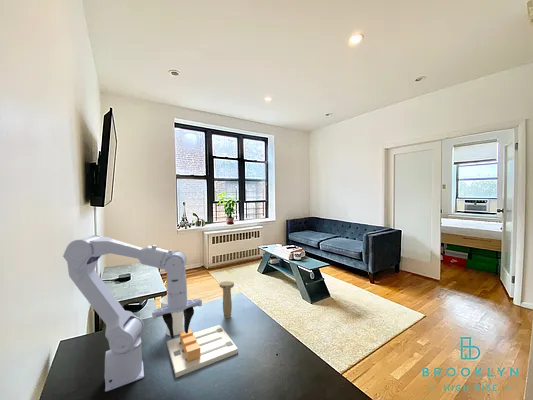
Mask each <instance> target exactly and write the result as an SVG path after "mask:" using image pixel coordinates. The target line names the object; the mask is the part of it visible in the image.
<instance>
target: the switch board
mask: <svg viewBox="0 0 533 400" xmlns="http://www.w3.org/2000/svg"><path fill="white" fill-rule="evenodd" d="M193 335H194V336H195V338H196V342H197V343H198V344H199V346H200V355H201V357H199V358H196V359H194V360H191V361H187V358H186V352H185V353H184V350H183V345H181V342H180V336H179V337H176V338H172V339H170V340H167V341H166V346H167V349H168V353H169V358H170V361H171V365H172V369H173V373H174V377H175V378H176V379H177V378H179V377H181V376H184V375H186V374H189V373H191V372H193V371H194V372H195V371H196V370H199V369H201V368H204V367H206V366H207V367H208V366H209V365H211V364H214V363H216V362H218V361H221V360H223V359H227V358H228V357H231V356H233V355H236V354H238V353H239V349H238V347H237V345H236V344H235V343H234V342H233V340H232V339H231V337H230V336H229V335H228V334H227V332H226V330H224V328H223V327H222V325H221V324H218V325H214V326H212V327H207V328H206V329H205V328H204V329H202V330H198V331H194V332H193Z"/></svg>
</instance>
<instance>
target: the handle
mask: <svg viewBox="0 0 533 400" xmlns="http://www.w3.org/2000/svg"><path fill="white" fill-rule="evenodd" d="M234 287H235V282H234V281H229V280H228V281H221V282H219V288H221V289H222V313H223V317H224V318H225V319H229V318H231V317H232V310H233V309H232V308H233V306H232V305H233V304H232V303H233V301H232V288H234Z"/></svg>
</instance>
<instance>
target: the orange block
mask: <svg viewBox="0 0 533 400" xmlns="http://www.w3.org/2000/svg"><path fill="white" fill-rule="evenodd" d="M185 352H186V358H187V361H191V360H194V359H196V358H199V357H201V355H200V346H199V344H198V343H195V344H192V345H189V346H186V347H185Z"/></svg>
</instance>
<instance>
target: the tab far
mask: <svg viewBox="0 0 533 400" xmlns="http://www.w3.org/2000/svg"><path fill="white" fill-rule="evenodd" d="M193 333H194V332H193V330H192V328H189V329H188V333H185V331H184V330H183V331H181V332H180V334H179V337H180V342H181V345H182V339H184V338H187V337H190V336H193Z"/></svg>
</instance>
